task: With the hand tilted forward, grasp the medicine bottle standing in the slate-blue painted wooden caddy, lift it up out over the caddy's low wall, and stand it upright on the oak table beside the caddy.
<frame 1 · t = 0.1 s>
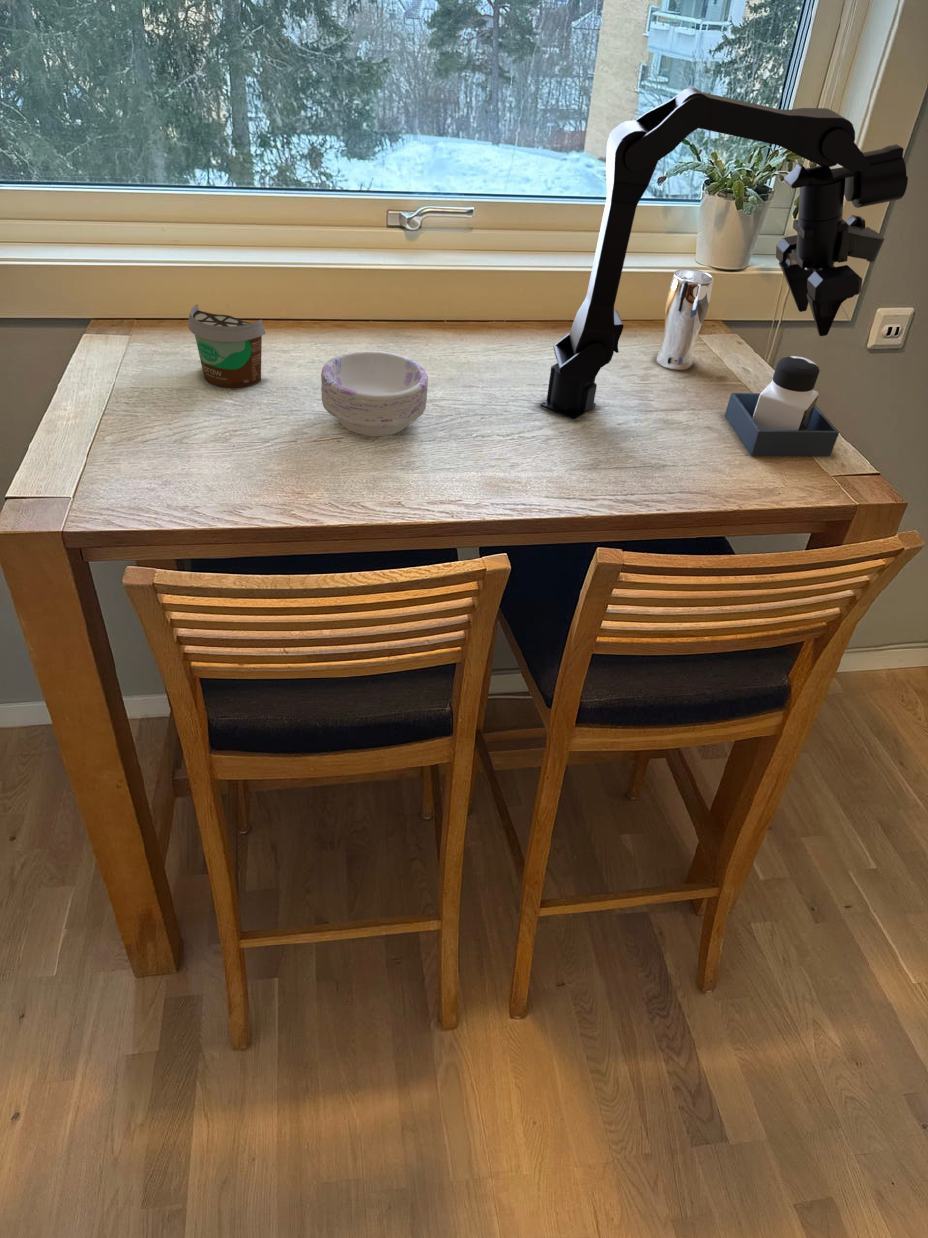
hand: (812, 322, 134), 15 cm above the table, tool pointing down, fingers open, 9 cm apart
medicine bottle: (775, 436, 139), resting in caddy
paper bowls: (374, 422, 133), on the table
silver tumbler: (673, 363, 157), on the table
caddy: (775, 435, 139), on the table
food container: (224, 382, 140), on the table
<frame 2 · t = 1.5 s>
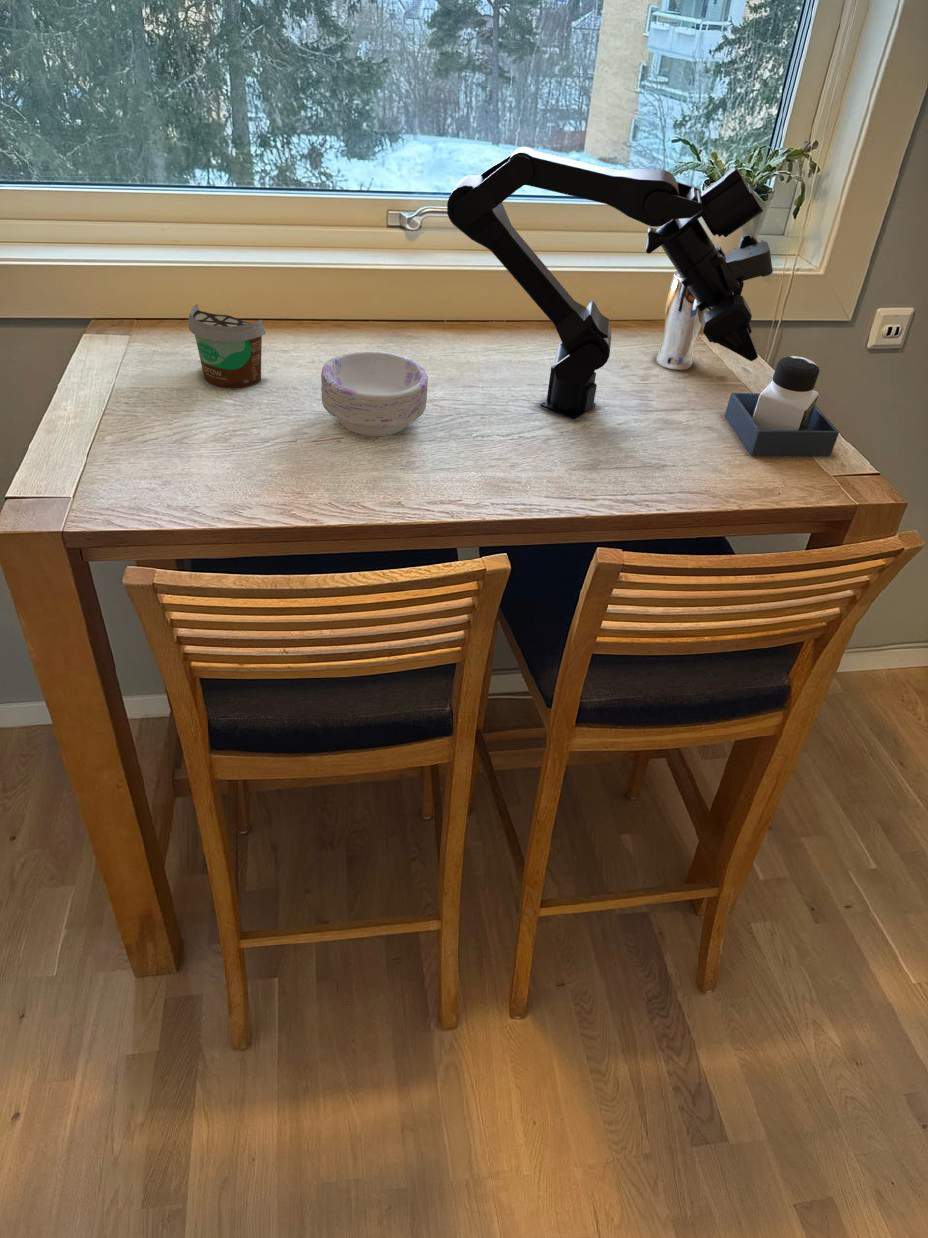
hand: (751, 346, 131), 13 cm above the table, tool tilted 45°, fingers open, 9 cm apart
nothing on the table moved.
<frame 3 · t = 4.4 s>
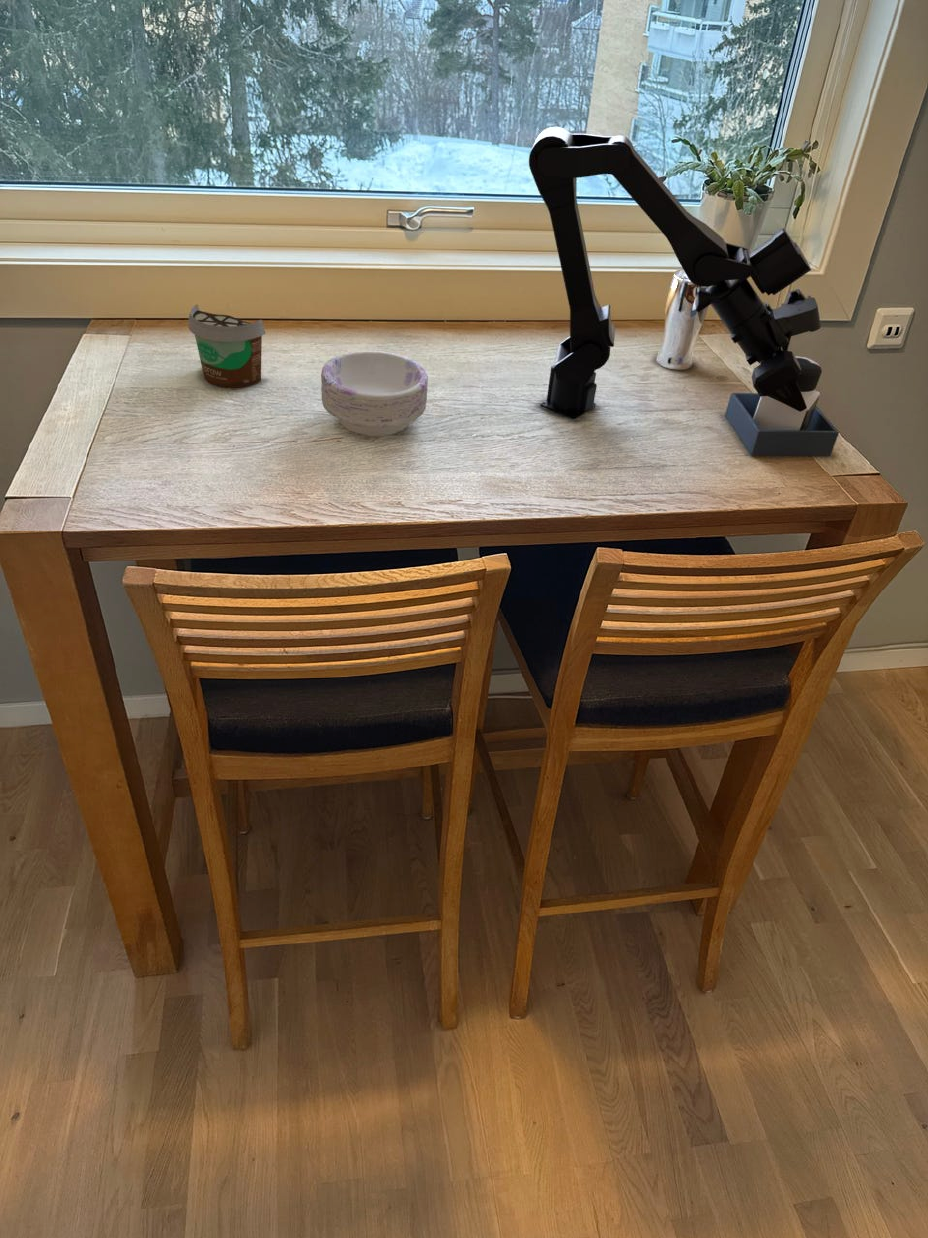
hand: (799, 396, 134), 7 cm above the table, tool tilted 45°, fingers closed on medicine bottle, 8 cm apart
medicine bottle: (775, 436, 139), resting in caddy, touching gripper
everything else where it was.
when the fingers open (8 cm above the table, at t = 11.3 s): medicine bottle stays where it is, on the table.
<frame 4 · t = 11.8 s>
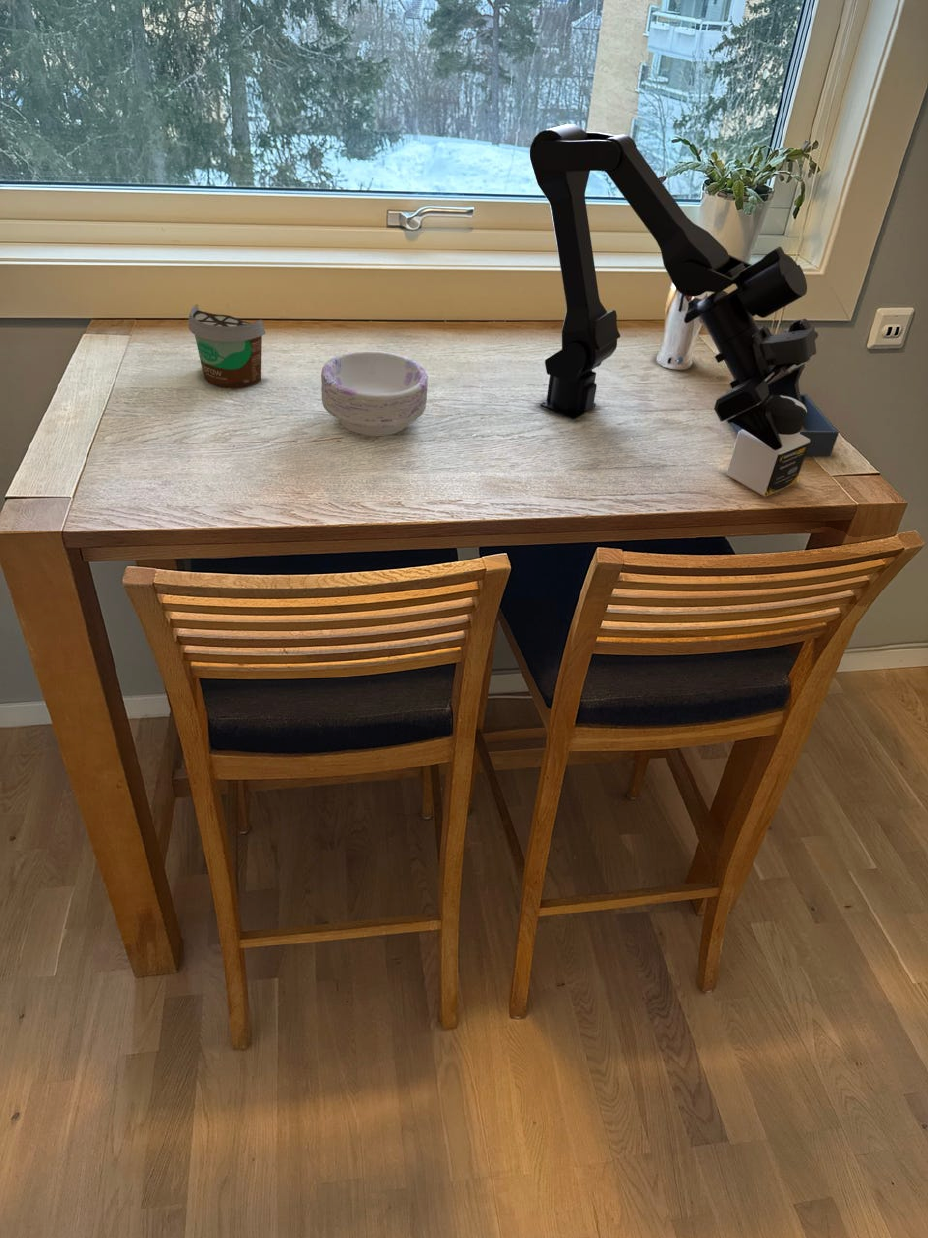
hand: (790, 436, 122), 8 cm above the table, tool tilted 45°, fingers open, 9 cm apart
medicine bottle: (759, 480, 128), on the table
everything else where it was.
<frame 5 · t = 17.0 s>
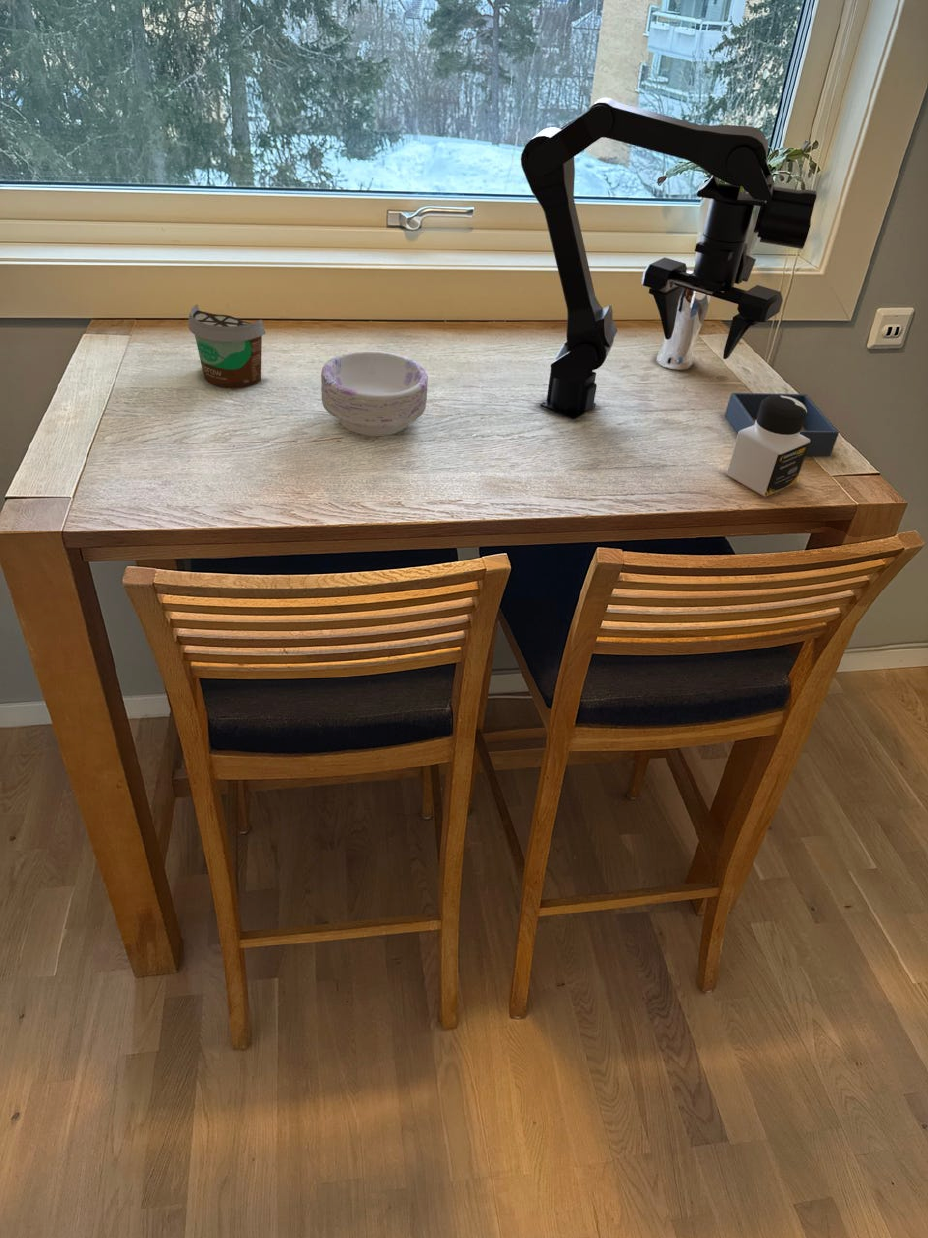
hand: (696, 348, 129), 13 cm above the table, tool pointing down, fingers open, 9 cm apart
nothing on the table moved.
at the end: medicine bottle inside the target area (0.6 cm from its centre), on the table; medicine bottle tilted 0°; the gripper is holding nothing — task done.
